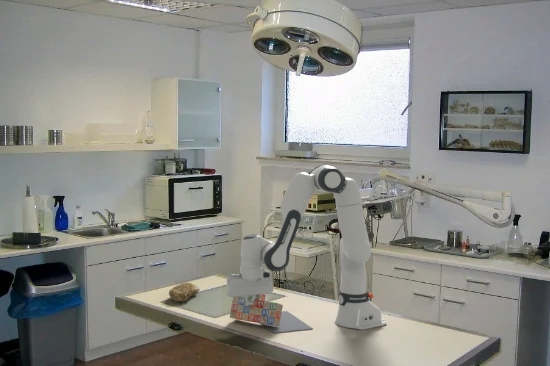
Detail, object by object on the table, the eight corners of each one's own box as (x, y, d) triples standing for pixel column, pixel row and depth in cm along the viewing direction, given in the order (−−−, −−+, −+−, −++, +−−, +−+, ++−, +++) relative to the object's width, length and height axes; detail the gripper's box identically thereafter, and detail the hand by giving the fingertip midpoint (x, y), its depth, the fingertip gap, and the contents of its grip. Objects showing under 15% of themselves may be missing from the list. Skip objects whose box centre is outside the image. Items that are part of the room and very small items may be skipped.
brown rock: (182, 295, 314) (157, 295, 296) (187, 280, 314) (162, 279, 296) (203, 304, 307) (179, 305, 290) (207, 288, 307) (184, 289, 290)
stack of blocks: (279, 327, 262) (284, 297, 265) (272, 325, 257) (278, 295, 260) (235, 319, 272) (241, 291, 275) (228, 317, 267) (234, 288, 270)
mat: (286, 311, 286) (286, 310, 286) (312, 329, 263) (312, 328, 263) (250, 315, 279) (250, 314, 279) (273, 333, 255) (273, 332, 255)
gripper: (229, 276, 255) (228, 309, 256) (275, 273, 263) (274, 305, 264) (224, 272, 260) (223, 305, 262) (269, 270, 269) (268, 301, 270)
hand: (249, 305), depth 263 cm, fingers closed
